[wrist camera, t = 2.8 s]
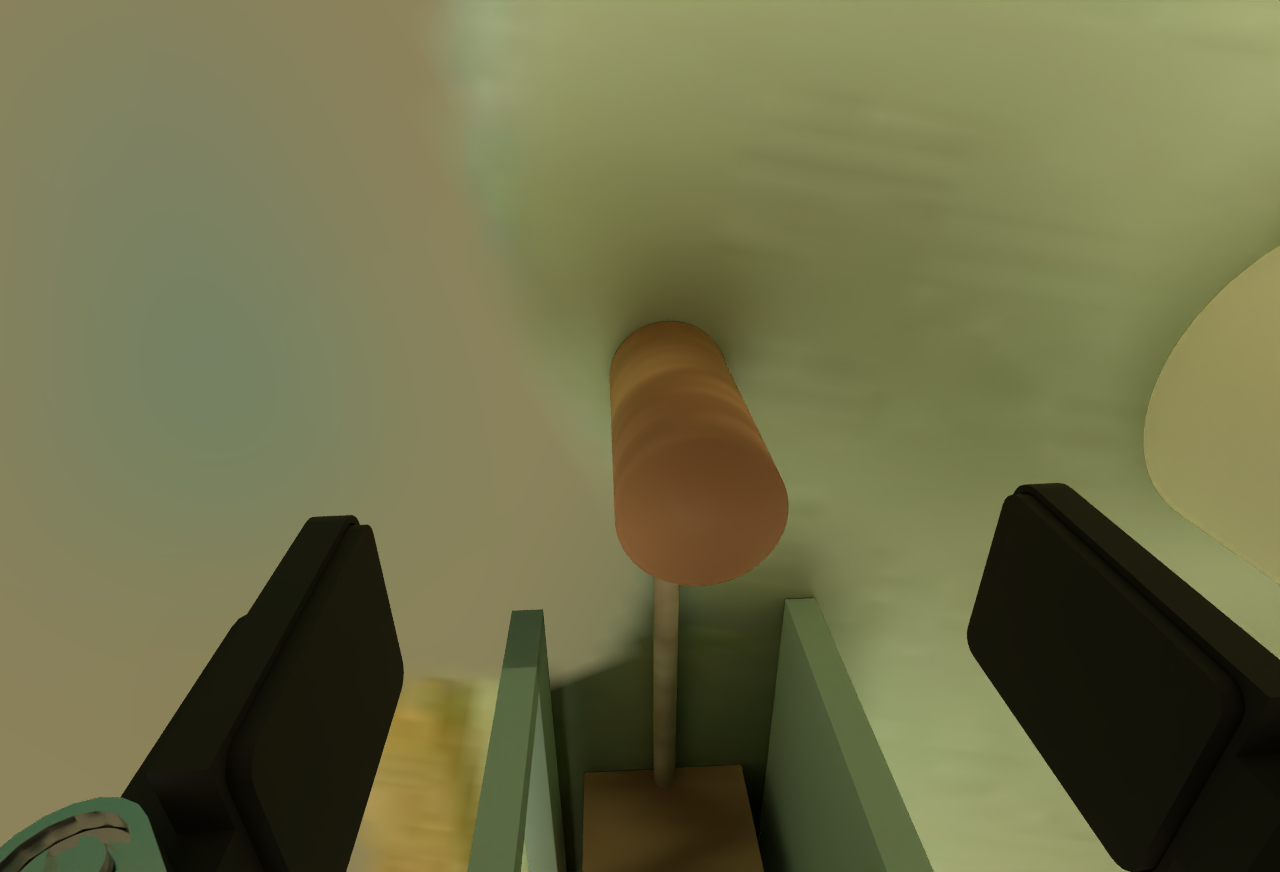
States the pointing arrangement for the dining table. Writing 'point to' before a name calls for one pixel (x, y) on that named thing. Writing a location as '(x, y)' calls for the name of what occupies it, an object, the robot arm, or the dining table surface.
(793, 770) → the plain rectangular box
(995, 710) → the dining table surface
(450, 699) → the dining table surface
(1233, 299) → the bracket
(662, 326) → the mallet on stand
